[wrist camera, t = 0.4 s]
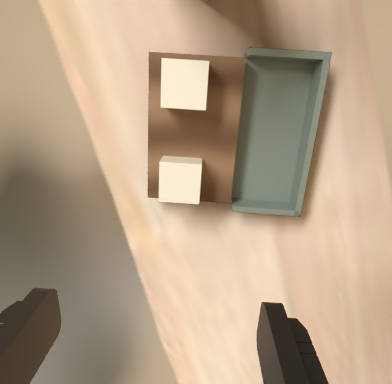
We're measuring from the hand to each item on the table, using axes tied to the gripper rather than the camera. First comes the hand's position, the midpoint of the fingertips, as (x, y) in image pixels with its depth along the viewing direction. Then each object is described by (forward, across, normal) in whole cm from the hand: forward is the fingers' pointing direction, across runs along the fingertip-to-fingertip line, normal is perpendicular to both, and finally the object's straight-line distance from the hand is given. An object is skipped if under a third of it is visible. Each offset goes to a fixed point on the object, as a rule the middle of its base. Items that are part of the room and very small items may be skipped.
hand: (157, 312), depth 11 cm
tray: (+27, -10, -3) cm, 29 cm away
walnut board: (+27, 0, -3) cm, 27 cm away
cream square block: (+24, +1, +2) cm, 24 cm away
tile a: (+24, +1, -8) cm, 25 cm away
